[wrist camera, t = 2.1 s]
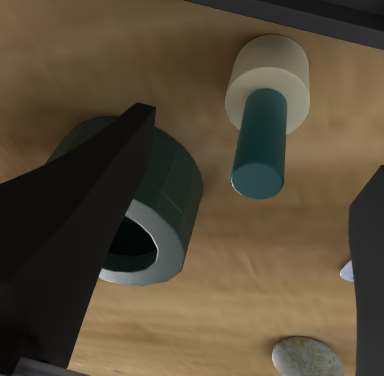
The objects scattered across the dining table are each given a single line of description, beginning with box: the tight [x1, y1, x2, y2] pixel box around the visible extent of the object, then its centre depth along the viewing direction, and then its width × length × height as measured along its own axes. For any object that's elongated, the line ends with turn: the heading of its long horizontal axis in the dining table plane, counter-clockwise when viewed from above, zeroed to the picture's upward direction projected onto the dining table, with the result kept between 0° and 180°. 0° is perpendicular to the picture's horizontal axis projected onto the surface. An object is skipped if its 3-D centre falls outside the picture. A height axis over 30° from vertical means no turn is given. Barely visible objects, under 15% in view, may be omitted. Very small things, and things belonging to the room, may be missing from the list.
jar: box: [45, 117, 202, 286], centre depth 21 cm, size 9×9×5 cm
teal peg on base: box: [225, 35, 310, 200], centre depth 13 cm, size 3×3×7 cm
